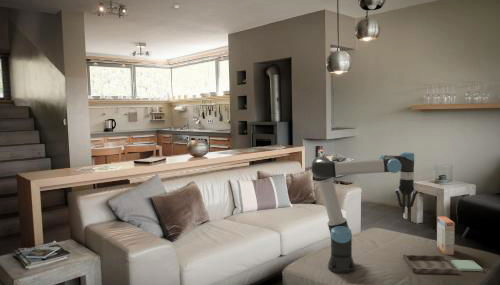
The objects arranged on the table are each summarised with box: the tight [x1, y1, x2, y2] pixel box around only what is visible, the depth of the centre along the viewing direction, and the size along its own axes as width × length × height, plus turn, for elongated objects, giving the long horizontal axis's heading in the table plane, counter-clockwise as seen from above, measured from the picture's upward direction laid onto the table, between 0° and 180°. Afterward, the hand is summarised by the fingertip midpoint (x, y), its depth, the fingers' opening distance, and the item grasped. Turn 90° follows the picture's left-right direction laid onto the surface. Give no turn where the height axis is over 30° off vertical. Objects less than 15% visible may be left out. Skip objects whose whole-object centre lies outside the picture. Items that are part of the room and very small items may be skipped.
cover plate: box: [450, 259, 484, 273], centre depth 221 cm, size 12×12×2 cm
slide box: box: [402, 254, 459, 275], centre depth 224 cm, size 23×20×3 cm
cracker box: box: [436, 215, 456, 256], centre depth 245 cm, size 14×6×21 cm, turn 172°
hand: (405, 218), depth 229 cm, fingers closed
